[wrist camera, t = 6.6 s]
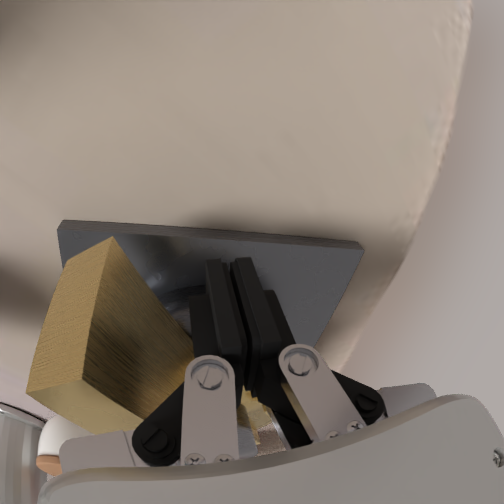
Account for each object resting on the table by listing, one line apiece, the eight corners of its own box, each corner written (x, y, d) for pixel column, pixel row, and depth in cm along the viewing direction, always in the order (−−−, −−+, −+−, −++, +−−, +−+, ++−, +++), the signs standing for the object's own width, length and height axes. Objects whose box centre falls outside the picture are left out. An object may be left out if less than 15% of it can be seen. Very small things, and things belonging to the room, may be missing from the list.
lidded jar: (108, 399, 24) (110, 486, 16) (136, 435, 30) (142, 500, 22) (25, 394, 21) (16, 470, 14) (65, 432, 27) (64, 492, 20)
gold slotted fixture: (299, 389, 20) (326, 458, 16) (182, 426, 20) (193, 492, 16) (205, 192, 10) (239, 327, 5) (15, 290, 10) (-25, 402, 5)
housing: (280, 388, 28) (292, 420, 25) (96, 391, 22) (95, 428, 19) (357, 241, 19) (389, 279, 16) (54, 219, 13) (27, 264, 10)
